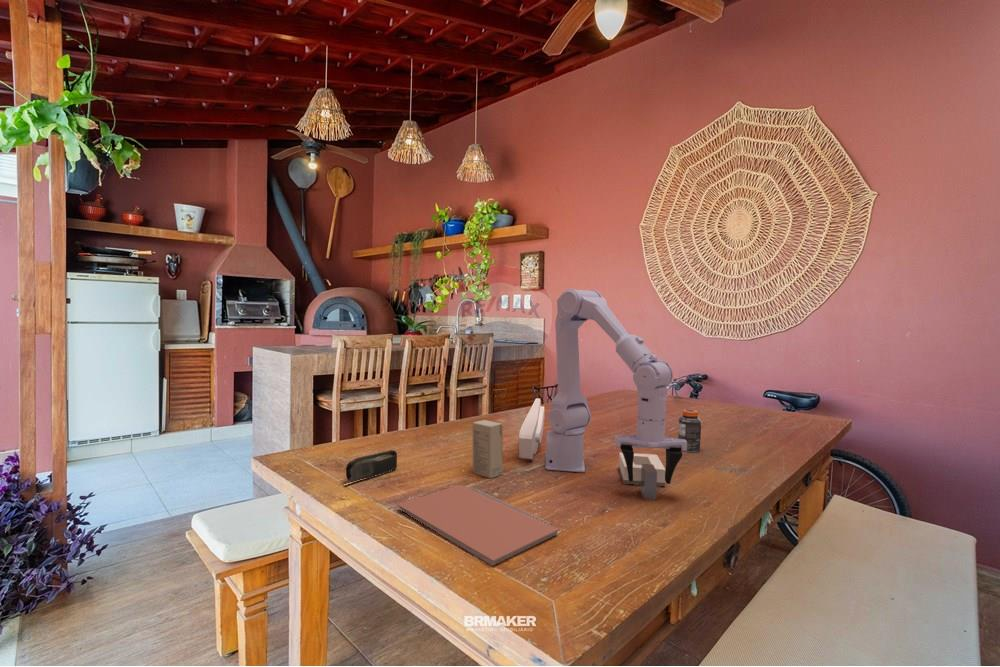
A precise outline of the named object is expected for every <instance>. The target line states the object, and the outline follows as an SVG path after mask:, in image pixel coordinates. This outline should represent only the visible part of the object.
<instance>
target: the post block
mask: <svg viewBox="0 0 1000 667" xmlns="http://www.w3.org/2000/svg"><path fill="white" fill-rule="evenodd" d="M618 454H619V455H618V470H620V471H619V473H621V474H620V476H621V479H622V483H624V484H623V485H628V484H634V485H633V486H641V469H642V464H652V465H654V467H655V469H656V471H657V486H665V487H666V481H665V470H666V467H665V466H664V464H663V463H662V460H661V459H660V458H659V456H658V455H657V454H649V453H636V452H635V453H634V457H633V481H629V479H628V470H627V465H626V462H625V458H624V456H623V453H622V451H621V452H619V453H618ZM636 484H638V485H636Z"/></svg>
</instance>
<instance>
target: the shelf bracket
mask: <svg viewBox="0 0 1000 667" xmlns="http://www.w3.org/2000/svg"><path fill="white" fill-rule="evenodd" d="M541 405H542V402H541V398H535V400H534V402H533V404H532V405H531V407H530V409H529V410H528V413H527V415H526V416H525V419H524V421H523V423H522V425H521V426H520V427H521V428H520V430H519V432H518V433H519V435H518V445H519V446H518V448H519V449H518V457H519V459H523V460H524V459H525V460H533V458H534V455H537V453H536V452H538V447H539V444H541V443H542V440H543V430H544V426H545V425H544V423H545V406H541Z"/></svg>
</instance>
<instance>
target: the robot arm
mask: <svg viewBox="0 0 1000 667" xmlns="http://www.w3.org/2000/svg"><path fill="white" fill-rule="evenodd" d="M607 302H608V301H607V299H606V298H604V297H603V296H602V294H601V293H600V292H599V291H598V290H593V289H591V290H585V289H584V290H583V289H582V290H581V289H573V288H568V289H565V290H563V292H562V293H561V295H560V296H559V297H557V299H556V306H557V308H556V310H557V313H556V318H555V322H554V323H555V324H554V325H555V326H554V327H555V346H556V347H555V348H556V369H557V370H556V371H557V391H558V392H557V394H556V395H555V396H554V397H553V398H552V400H551V401H550V409H549V412H548V416H547V417H548V423H549V426H550V428H551V430H550V429H549V430H546V440H545V441H546V442H545V444H546V445H545V452H544V461H545V466H544V467H545V470H547V471H558V472H560V471H563V472H573V473H575V472H576V473H585V472H586V468H585V467H586V466H585V461H584V446H585V445H584V444H585V442H584V441H585V440H584V439H585V438H584V436H585V431H587V430H586V428H587V427H588V426H589V425H590V423H591V419H592V414H591V411H590V408H589V405H588V399H587V397H586V396H585V395H584V394H583V393H582V391H581V376H580V375H581V373H580V370H581V369H580V353H579V350H580V348H579V331H578V330H579V328H580V327H582V325H583V324H584V323H585V322H586V321H588V320H592V321H594V322H595V323H596V324H597V325H598V326H599V327H600V328H601V329H602V331H604V332H605V333H606V334H607V336H608V337H609V338H611V340H613V342H614V343H615V353H617V354H618V356H619V357H620V359H621V360H622V362H624V364H626V366H627V367H628V368H629V370H630V371H631V372H632V373H633V375H632V379H633V380H632V381H633V382H634V384H635V386H636V390H637V392H636V393H637V395H638V396H637V416H636V417H637V418H636V419H637V420H636V422H637V423H636V434H632V435H631V434H630V435H614V436H615V437H614V438H615V439H614V444H615V447H617V448H620V450H621V453H623V456H624V458H625V462H626V465H627V470H628V479H629V481H633V457H634V448H650V449H663V450H664V449H665V484H666V485H671V481H672V478H673V474H674V472H675V469H676V468H677V465H678V463H679V462H680V460H681V459H682V457H683V452H686V451H687V441H686V440H685V439H678V438H676V437H675V438H674V437H668V436H666V435H665V434H666V416H667V398H668V396H667V392H668V390H667V389H668V386H670V384H671V383H672V380H673V378H674V377H673V376H674V375H673V370H672V368H671V366H670V365H669V363H668V362H667V361H665V360H660V359H658V356H657V355H656V354H655V353H654V354H653V353H652V352H651V350H650V349H649V347H647V346H646V344H645V343H644V342H645V340H644V339H643V337H641V336H638V335H636V334H629V332H627V330H626V329H625V327H624V326H623V324H622V323H621V322H620V321H619V319H618V317H616V316H615V314H614V312H613V311H612V309H610V307H609V306H608V303H607Z"/></svg>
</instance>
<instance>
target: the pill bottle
mask: <svg viewBox="0 0 1000 667" xmlns="http://www.w3.org/2000/svg"><path fill="white" fill-rule="evenodd" d="M698 416H699V411H698V410H696V409H695V410H694V409H689V408H688V409H683V410H682V416H681V417H679V420H678V434H677V436H678V438H677V439H685V440H686V441H687V451H685V452H686V453H698V452H701V441H702V440H701V438H702V437H701V435H702V433H701V432H702V420H701V419H700V418H699V417H698Z"/></svg>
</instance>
